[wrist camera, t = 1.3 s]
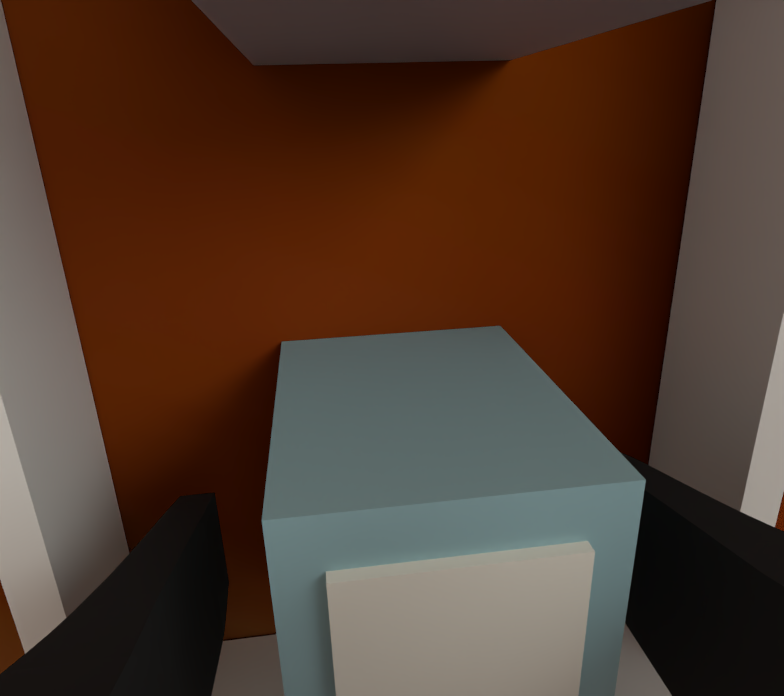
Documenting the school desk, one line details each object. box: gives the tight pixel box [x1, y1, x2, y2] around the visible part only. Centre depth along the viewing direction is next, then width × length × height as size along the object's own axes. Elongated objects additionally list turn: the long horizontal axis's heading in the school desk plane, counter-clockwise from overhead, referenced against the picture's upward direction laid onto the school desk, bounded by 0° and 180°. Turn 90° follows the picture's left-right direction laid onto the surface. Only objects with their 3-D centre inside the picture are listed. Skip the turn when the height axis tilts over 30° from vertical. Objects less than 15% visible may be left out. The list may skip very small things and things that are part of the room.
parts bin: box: [0, 0, 784, 696], centre depth 10 cm, size 14×22×3 cm, turn 2°
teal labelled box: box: [262, 326, 646, 696], centre depth 10 cm, size 4×6×6 cm
